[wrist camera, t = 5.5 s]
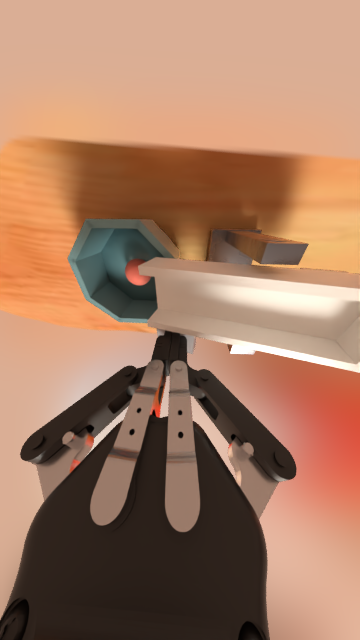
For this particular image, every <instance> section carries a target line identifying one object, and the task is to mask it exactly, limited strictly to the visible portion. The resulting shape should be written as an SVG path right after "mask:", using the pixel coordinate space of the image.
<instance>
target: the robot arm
mask: <svg viewBox="0 0 360 640" xmlns="http://www.w3.org/2000/svg"><path fill="white" fill-rule="evenodd" d="M169 374H170V392H169V410H168V412H169V414H168V416H167V417H163V418H160V409H161V403H162V398H163V393H164V389H165V382H166V376H169ZM190 395H191V396H194V398H195V399H196V401H197V402H198V403H199V405H200V406H201V407H202V409H203V410H204V411H205V412H206V414H207V415H208V416H209V418H210V419H211V421H212V422H213V423H214V424H215V426H216V427H217V429H218V430H219V431H220V432H221V434H222V435H223V436H224V438H225V439H226V440H227V442H228V443H229V444H230V445H229V447H228V457H229V460H230V462H231V464H232V466H233V467H234V470H235V473H236V480H235V479H234V477H233V475H232V474H231V472H230V471H229V469H228V467H227V466H226V465H225V463H224V461H223V460H222V458H221V457H220V455H219V453H218V452H217V450H216V449H215V447H214V445H213V444H212V443H211V441H210V439H209V438H208V436H207V435H206V433H205V432H204V430H203V429H202V428H201V427H200V426H199V425H198V424H197V423H196V422H194V421H192V410H191V398H190ZM128 406H129V407H128ZM127 407H128V410H127V413H126V415H125V418H124V420H123V421H121V422H120V423H119V424H117V425H116V426H115V427H114V428H113V429H112V430H111V431H110V432H109V433H108V435H106V437H105V438H104V439H103V440H102V441H101V442H100V443H99V444H98V445H97V446H96V447H95V448H94V449H93V450H92V451H91V452H90V453H89V451H90V450H91V448H92V446H93V443H94V438H95V437H96V436H97V435H98V434H99V433H100V432H101V431H102V430H103V429H104V428H105V427H106V426H107V425H109V423H111V422H112V421H113V420H114V419H115V418H116V417H117V416H118V415H119V414H120V413H121V412H122V411H123V410H124V409H125V408H127ZM88 453H89V454H88ZM87 454H88V455H87ZM20 455H21V458H22V460H25V461H28V462H31V463H32V464H35V465H36V466H37V470H38V475H39V479H40V483H41V487H42V492H43V497H44V503H43V504H42V506H41V507H40V509H39V510H38V512H37V514H36V516H35V517H34V520H33V522H32V524H31V526H30V529H29V531H28V534H27V537H26V540H25V544H24V549H23V554H22V558H21V563H20V567H19V571H18V574H17V578H16V581H15V584H14V587H13V590H12V593H11V596H10V599H9V601H8V604H7V606H6V609H5V611H4V613H3V616H2V617H1V620H0V640H270V637H269V630H268V621H267V607H266V579H267V550H266V543H265V538H264V534H263V530H262V527H261V524H260V522H259V518H260V516H261V514H262V513H263V510H264V509H265V507H266V505H267V503H268V501H269V499H270V497H271V495H272V494H273V492H274V490H275V488H276V486H277V484H278V483H279V482H281V481H286V480H290V479H293V478H294V477H295V475H296V464H295V461H294V459H293V457H292V455H291V454H290V452H289V451H288V450H287V449H286V448H285V447H284V446H283V445H282V444H281V443H280V442H279V441H278V440H277V439H276V438H275V437H274V436H273V435H272V434H271V433H270V432H269V431H268V430H267V428H266V427H265V426H264V425H263V424H262V423H261V422H259V420H258V419H257V418H256V417H255V416H253V414H252V413H251V412H250V411H249V410H248V409H247V408H246V407H245V406H244V405H243V404H242V403H241V402H240V401H239V400H238V399H237V398H236V397H235V396H234V395H233V394H232V393H231V392H230V391H229V390H228V389H227V388H226V387H225V386H224V385H223V384H222V383H221V382H220V381H219V380H218V379H217V378H216V377H215V376H214V375H213V374H212V373H211V372H210V371H208V370H205V369H202V370H199V371H197V370H194V369H192V368H190V367H189V365H188V364H187V339H186V337H185V336H180V333H176V332H172V331H167V330H165V333H164V335H159V337H158V338H157V340H156V344H155V348H154V351H153V355H152V359H151V362H149V363H148V365H147V366H144V367H141V368H137V369H136V368H135V367H134V366H126V367H124V368H123V369H121V370H120V371H119V372H117V373H116V374H114V375H113V376H112V377H110V378H109V379H107V380H106V381H105V382H103V383H102V384H101V385H99V386H98V387H96V388H95V389H94V390H92V391H91V392H90V393H88V394H87V395H85V396H84V397H83V398H81V399H80V400H79V401H77V402H76V403H74V404H73V405H72V406H70V407H69V408H68V409H66V410H65V411H63V412H62V413H61V414H59V415H58V416H57V417H55V418H54V419H53V420H51V421H50V422H48V423H47V424H46V425H45V426H43V427H42V428H40V429H39V430H37V431H36V432H35V433H33V434H32V435H31V436H30V437H29V438H28V439H27V441H26V442H25V443H24V445H23V447H22V449H21V453H20ZM86 455H87V456H86ZM85 456H86V457H85Z"/></svg>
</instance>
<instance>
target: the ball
mask: <svg viewBox="0 0 360 640" xmlns="http://www.w3.org/2000/svg"><path fill="white" fill-rule="evenodd" d="M143 263H145V261H144V260H142V259H132V260H130V261H129V262H128V263H127V265H126V267H125V274H126V277H127V279H128V280H129V281H130V282H131V283H133V284H135V285H144V284H146V283H147V282H148V281H149V280H150V278H151V276H144V275H139V270H138V266H139V265H141V264H143Z"/></svg>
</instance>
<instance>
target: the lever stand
mask: <svg viewBox="0 0 360 640" xmlns="http://www.w3.org/2000/svg"><path fill="white" fill-rule="evenodd" d="M307 246H308V244H307V243H302V242H297V241H292V240H288V239H283V238H278V237H273V236H268V235H264V234H261V230H258V229H211V235H210V243H209V252H208V260H207V261H209V262H221V263H233V264H245V265H251V263H252V260H255V261H257V262H258V263H260V264H284V265H298V264H299V262H300V260H301V258H302V256H303V254H304V252H305V250H306V248H307ZM227 345H228V348H229V351H230V353H237V354H254V352H255V350H254V349H249V348H245V347H240V346H236V345H231V344H227Z"/></svg>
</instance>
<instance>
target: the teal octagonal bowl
mask: <svg viewBox="0 0 360 640" xmlns="http://www.w3.org/2000/svg"><path fill="white" fill-rule="evenodd" d="M155 257H161V258H173V259H180V250H179V249H178V248H177V247H176V246H175V245H174V243H173V242H172V240H171V239H170V238H169V236H168V235H167V234H166V233H165V232H164V231H163V230H162V229H160V228H159V227H158V225H157V224H156V223H155V222H154V221H153V220H152V219H86V220H85V222H84V224H83V226H82V228H81V231H80V233H79V235H78V237H77V239H76V241H75V244H74V246H73V248H72V250H71V252H70V254H69V256H68V261H69V263H70V265H71V268H72V270H73V272H74V274H75V277H76V279H77V281H78V283H79V285H80V288H81V290H82V292H83V294H84V297H85V299H86V300H87V301H89V302H90V303H92V304H93V305H95V306H96V307H98V308H99V309H101V310H102V311H104V312H105V313H107V314H108V315H110V316H111V317H112V318H114V319H115V320H117V321H118V322H132V323H147V321H148V319H149V318H150V317H151V316H152V315H153V314H154V312H155V311H156V310H157V309H158V304H157V294H156V285H155V277H152V276H151V278H150V280H149V281H148V282H147V283H146V284H144V285H135V284H133V283H131V282H130V281H129V280H128V279H127V277H126V274H125V267H126V265H127V263H128V262H129V261H130V260H132V259H142V260H144V261H145V262H147V261H149V260H151V259H153V258H155Z"/></svg>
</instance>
